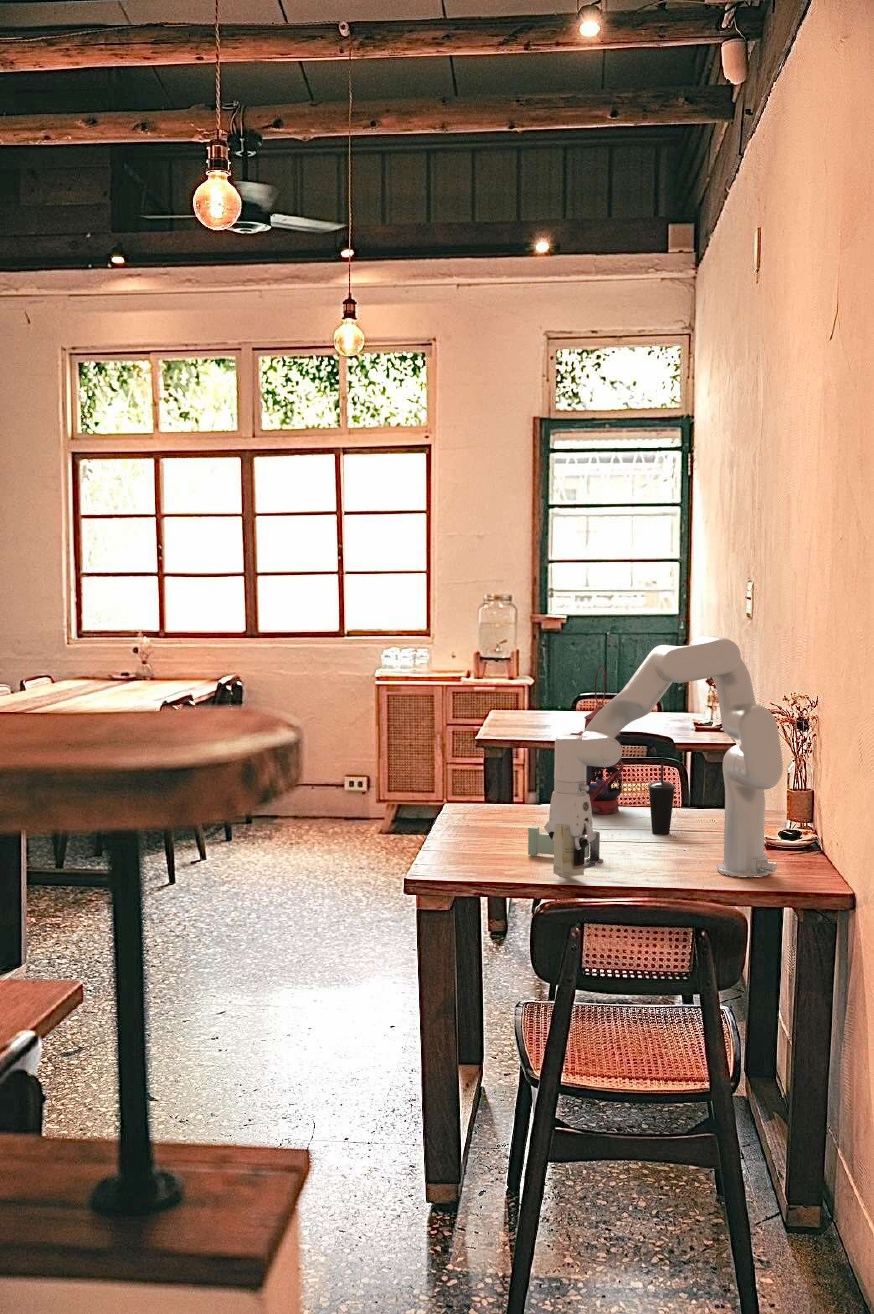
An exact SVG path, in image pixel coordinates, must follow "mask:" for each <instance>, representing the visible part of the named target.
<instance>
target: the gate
mask: <svg viewBox="0 0 874 1314" xmlns="http://www.w3.org/2000/svg"><path fill="white" fill-rule="evenodd" d="M527 834H528V839H527V840H528V841H527V843H528V844H527V849H528V850H527V854H528V855H529V856H537V855H553V856H554V844H552V840H551V838H550V836H549V834H548V833H547V832H540V826H536V825H535V826H534V825H531V826H529V827H528V832H527ZM586 837H587V836H585V838H586ZM588 858H590V844H589V845H588V846H587V848H585V859H588Z"/></svg>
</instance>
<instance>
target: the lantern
mask: <svg viewBox="0 0 874 1314" xmlns="http://www.w3.org/2000/svg"><path fill="white" fill-rule="evenodd" d="M601 668H602V670H603V676H604V690H603V691H604V693H603V697H602V700H601V702H599V700H598V697H597V696H598V695H597V680H598V674H599V670H600V669H601ZM606 691H607V674H606V670H605V666H604V665H601V664H600V665H599V666H598V667H597V670H596V672H595V680H594V698H595V700H596V701H595V702H596V703H597V704H596V705H595V706H594V710H592V711H591V712H590V713H589V714H587V715H585V716H584V717H583V718H584V720H585V721H584V730H585V729H586V727H587V726H588V725H589V723H590V722H591V720H592V719H593V718H594V717H595V715H596V714H597V713H598V712H599V711H600V710H601V709H602V708H603V707H604V706H605V705H604V700H605V697H606V693H607V692H606ZM584 730H581V731H578V733H577V735H579V736H581V735H582V733H583V731H584ZM619 736H621V732H619V733H618V734H617V735H616V737H615V738H614V739H616V740H617V741H618V742H619V744H620V745H621V748H623V746H622V743H621V741H620V739H619ZM622 759H623V758H622V757H621V758H620V760H619V761H618V762H617V763H616V764H615V765H613V766H610V767H597V766H586V785H588V786H589V790H588V791H586V794H589V797H590V802H591V810H592V815H601V816H607V815H615V814H616V813H617V812H618V811H619V801H618V800H619V796H621V794H622V792H623V775H622V773H623V772H624V771H625V769H624V767H625V766H624V764H625V763H623V760H622ZM605 770H606V771H605ZM603 771H605V773H606V775H605V776H607V778H606V780H605V776H604V772H603ZM614 783H616V785H617V784H618V785H617V786H618V787H616V786H614V787H612V785H613V784H614Z"/></svg>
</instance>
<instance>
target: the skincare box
mask: <svg viewBox="0 0 874 1314" xmlns="http://www.w3.org/2000/svg"><path fill="white" fill-rule="evenodd" d="M584 833H585V832H584ZM579 839H580V838H579ZM580 842H581V839H580ZM574 849H576V845H575V841H574V837H572V836H570V834H569V827H568V826H564V825H560V824H555V837H554V855H553V867H552V873H553V874H555V875H556V876H559V877H562V878H567V877H577V876H578V877H579V876H584V874H585V873H584V872H585V868H584V865H585V863H584V864H583V865H580V866H575V865H574Z"/></svg>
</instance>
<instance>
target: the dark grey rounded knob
mask: <svg viewBox="0 0 874 1314" xmlns="http://www.w3.org/2000/svg"><path fill="white" fill-rule="evenodd" d="M593 832H594V833H595V835H596V838H595V839H594V840H593V841H591V842H590V848H589V857H588V858H585V862H586V863H587V864H589V863H596V864H602V863H604V859H603V858H600V846H601V845H600V841H601V840H600V835H601V832H600V831H597V830H596V831H595V830H593Z"/></svg>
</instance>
